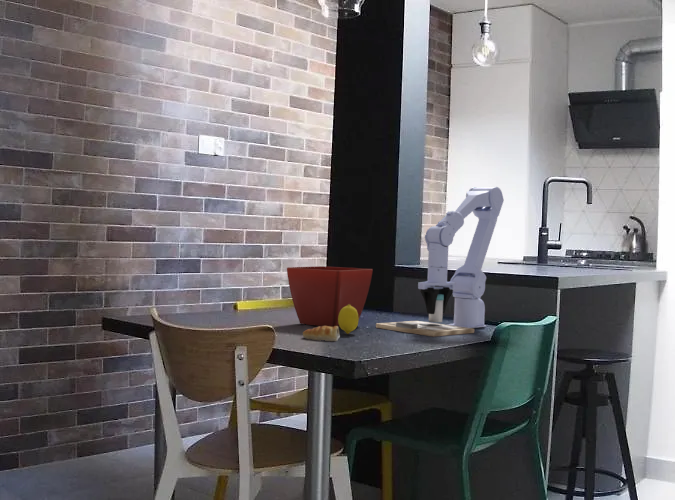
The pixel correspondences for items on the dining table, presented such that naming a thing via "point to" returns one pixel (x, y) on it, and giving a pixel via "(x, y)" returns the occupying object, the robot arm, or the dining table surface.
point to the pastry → (322, 333)
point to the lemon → (348, 318)
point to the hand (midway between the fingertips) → (435, 313)
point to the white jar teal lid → (437, 310)
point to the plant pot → (327, 292)
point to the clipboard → (425, 328)
